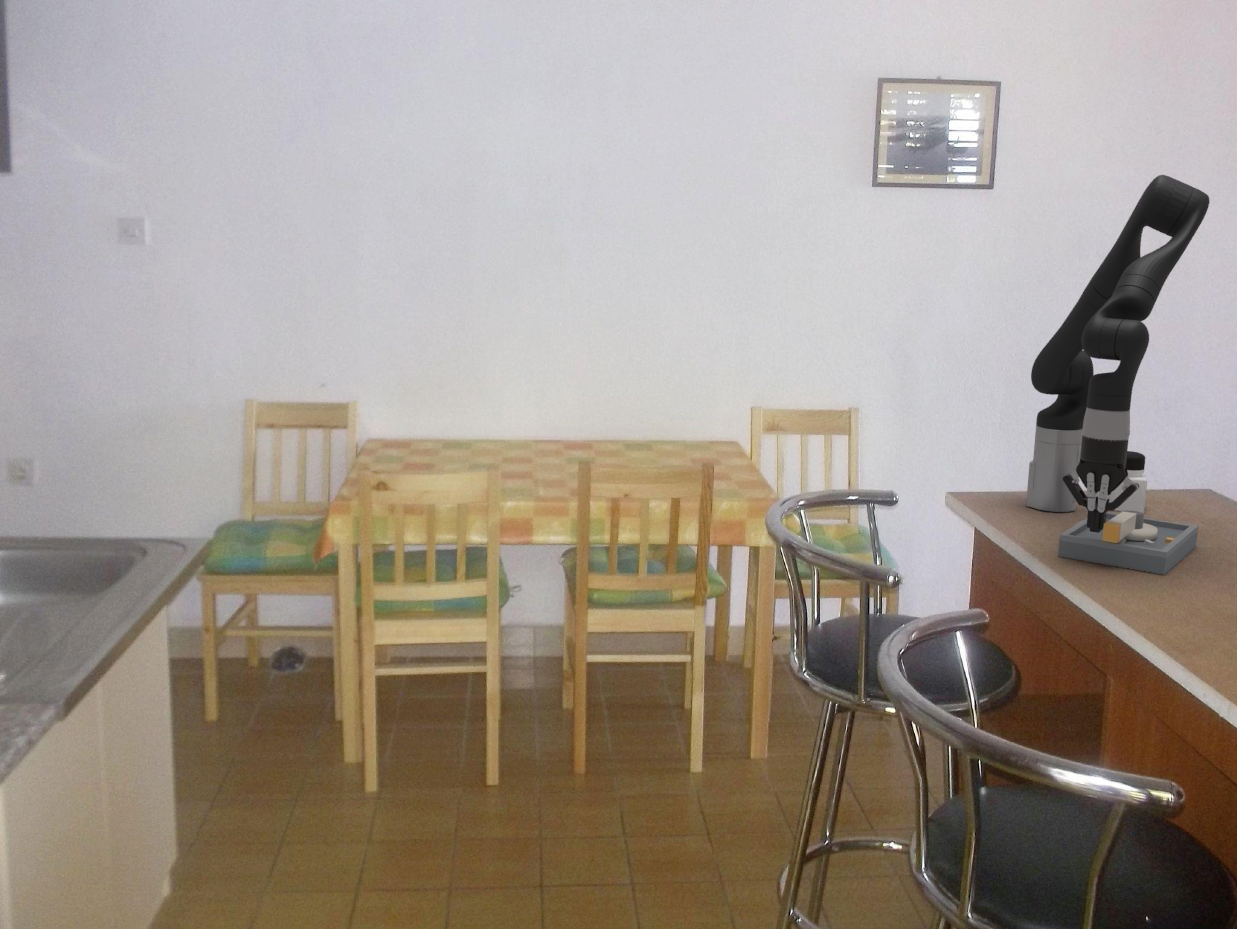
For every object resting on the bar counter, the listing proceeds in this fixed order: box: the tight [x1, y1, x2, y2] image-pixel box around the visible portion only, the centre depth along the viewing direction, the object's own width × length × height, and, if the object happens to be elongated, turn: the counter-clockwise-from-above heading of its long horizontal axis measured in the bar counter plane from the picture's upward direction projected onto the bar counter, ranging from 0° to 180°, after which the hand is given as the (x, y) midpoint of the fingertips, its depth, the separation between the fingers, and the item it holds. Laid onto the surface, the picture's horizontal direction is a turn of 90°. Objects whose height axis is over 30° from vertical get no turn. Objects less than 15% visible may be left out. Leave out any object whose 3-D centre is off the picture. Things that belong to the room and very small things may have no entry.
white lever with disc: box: [1102, 511, 1158, 543], centre depth 220 cm, size 18×9×5 cm, turn 144°
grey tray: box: [1057, 511, 1199, 576], centre depth 224 cm, size 18×24×4 cm
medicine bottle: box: [1109, 450, 1148, 514], centre depth 257 cm, size 7×7×12 cm
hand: (1095, 531), depth 216 cm, fingers closed
